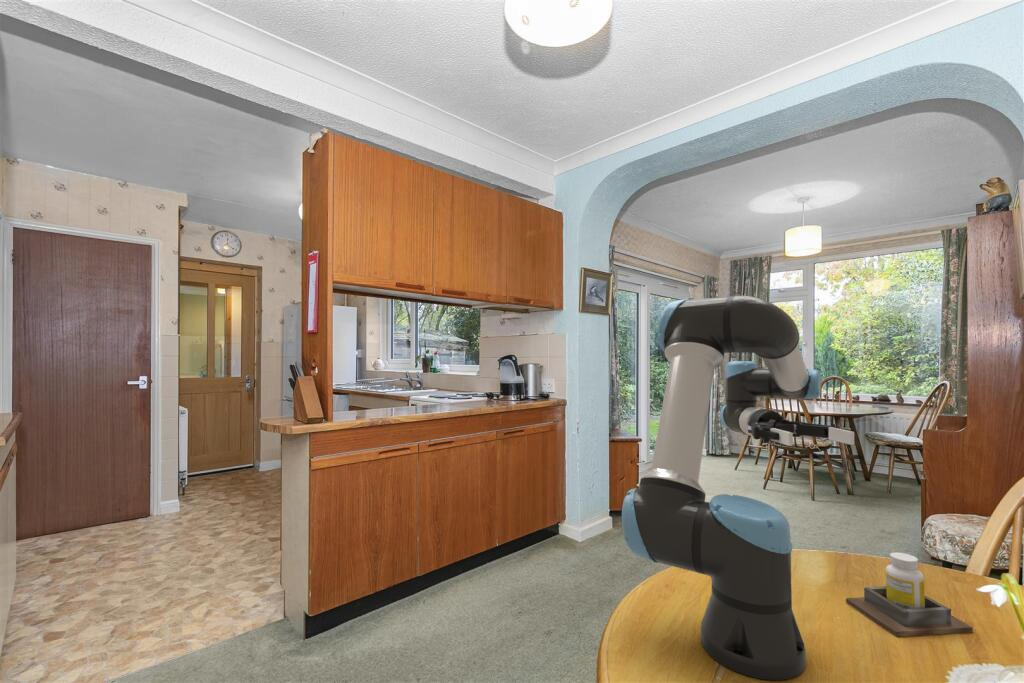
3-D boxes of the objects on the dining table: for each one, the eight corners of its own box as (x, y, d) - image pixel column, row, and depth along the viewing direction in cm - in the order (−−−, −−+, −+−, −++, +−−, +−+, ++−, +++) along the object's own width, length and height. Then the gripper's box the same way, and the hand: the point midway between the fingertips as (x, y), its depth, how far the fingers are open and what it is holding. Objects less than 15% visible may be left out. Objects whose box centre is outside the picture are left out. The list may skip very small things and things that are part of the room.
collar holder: (896, 636, 82) (895, 616, 82) (846, 602, 93) (845, 584, 93) (972, 631, 83) (972, 612, 83) (914, 598, 94) (914, 581, 94)
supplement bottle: (910, 604, 90) (908, 550, 91) (933, 620, 85) (932, 563, 85) (879, 603, 91) (878, 550, 91) (900, 619, 85) (899, 562, 86)
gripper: (809, 438, 124) (878, 455, 103) (714, 439, 122) (765, 457, 101) (809, 408, 124) (877, 420, 103) (714, 409, 122) (764, 421, 101)
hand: (822, 438), depth 102 cm, fingers open, 13 cm apart
